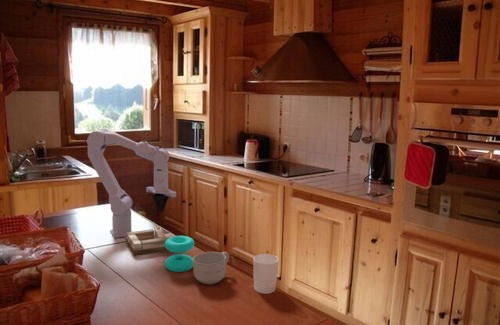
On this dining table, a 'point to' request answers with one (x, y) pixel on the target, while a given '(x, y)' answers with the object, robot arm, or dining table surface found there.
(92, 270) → the dining table surface
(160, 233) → the hinged leg
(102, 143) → the robot arm
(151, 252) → the stool seat
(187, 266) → the donuts
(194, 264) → the teacup
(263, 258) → the white cup
